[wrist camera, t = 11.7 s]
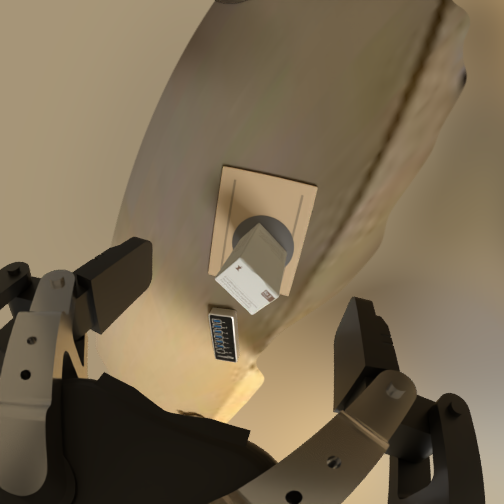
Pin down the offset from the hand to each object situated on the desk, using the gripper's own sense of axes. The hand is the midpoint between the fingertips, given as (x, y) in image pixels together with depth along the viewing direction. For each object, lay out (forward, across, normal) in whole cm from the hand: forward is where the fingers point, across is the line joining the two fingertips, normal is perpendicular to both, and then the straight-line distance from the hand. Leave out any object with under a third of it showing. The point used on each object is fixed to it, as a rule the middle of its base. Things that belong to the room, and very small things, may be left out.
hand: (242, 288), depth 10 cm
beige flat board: (+28, +4, +8) cm, 30 cm away
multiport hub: (+29, +6, +29) cm, 41 cm away
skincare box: (+28, +2, +10) cm, 29 cm away
